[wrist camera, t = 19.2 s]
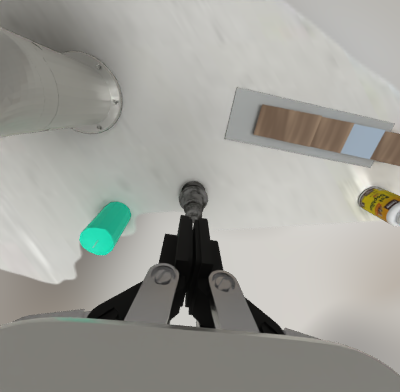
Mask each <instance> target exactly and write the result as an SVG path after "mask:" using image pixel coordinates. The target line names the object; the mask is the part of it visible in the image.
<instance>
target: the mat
mask: <svg viewBox="0 0 400 392" xmlns="http://www.w3.org/2000/svg"><path fill="white" fill-rule="evenodd" d="M262 104H264V105H269V106H274V107H279V108H284V109H290V110H295V111H300V112H305V113H310V114H316V115H321V116H322V117H326V118H331V119H336V120H341V121H346V122H351V123H355V124H357V125H362V126H367V127H372V128H377V129H382V130H386V131H387V132H391V130H392V128H393V126H394V123H390V122H386V121H381V120H377V119H373V118H369V117H364V116H360V115H356V114H351V113H347V112H343V111H338V110H334V109H330V108H325V107H321V106H317V105H312V104H308V103H304V102H299V101H295V100H291V99H286V98H282V97H278V96H273V95H269V94H265V93H260V92H256V91H252V90H247V89H243V88H239V87H237V89H236V93H235V97H234V101H233V106H232V110H231V114H230V118H229V123H228V127H227V131H226V135H225V139H228V140H233V141H238V142H243V143H248V144H253V145H258V146H263V147H268V148H273V149H278V150H283V151H288V152H293V153H298V154H303V155H308V156H313V157H318V158H323V159H328V160H333V161H338V162H343V163H348V164H353V165H358V166H364V167H369V168H371V166H372V164H373V162H374V161H375V160H372V159H366V158H361V157H357V156H352V155H348V154H343V153H336V152H332V151H327V150H323V149H319V148H314V147H307V146H303V145H298V144H294V143H289V142H284V141H280V140H275V139H271V138H266V137H262V136H257V135H253V134H254V131H255V127H256V124H257V120H258V117H259V113H260V110H261V107H262Z"/></svg>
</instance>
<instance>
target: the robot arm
mask: <svg viewBox="0 0 400 392" xmlns="http://www.w3.org/2000/svg"><path fill="white" fill-rule="evenodd" d="M101 66H102V69H100V67H101ZM116 101H118V104H117V103H116ZM121 109H122V96H121V91H120V87H119V85H118V83H117V80H116V78H115V77H114V75H113V74H112V72H111V71H110V70H109V69H108V68H107V67H106V65H104V64H103V63H102V62H101V61H99V60H98V59H96V58H95V57H93V56H91V55H88V54H86V53H83V52H79V51H68V52H64V53H58V52H56V51H54V50H52V49H49V48H47V47H45V46H42V45H40V44H38V43H36V42H33V41H31V40H29V39H26V38H24V37H22V36H20V35H17V34H15V33H13V32H11V31H8V30H6V29H4V28H1V27H0V138H2V137H6V136H12V135H19V134H26V133H34V132H41V131H49V130H56V129H63V128H72V129H74V130H76V131H79V132H82V133H88V134H94V133H100V132H103V131H106V130H108V129H109V128H111V127H112V126H113V125H114V124H115V123H116V121H117V120H118V118H119V116H120V112H121ZM100 126H102V128H101V127H100ZM185 293H186V300H185V307H189V315H193V317H194V318H195V319H196V320H197V321H196V327H192V326H180V325H169V324H170V320H171V319H172V318H173V317H175V316H176V315H177V314H178V313H179V309H180V307H182V306H183V302H184V297H185ZM0 392H400V375H399V374H397V373H396V372H395V371H394V370H393V369H391V368H390V367H389V366H387V365H386V364H384V363H383V362H381V361H380V360H378V359H376V358H374V357H372V356H371V355H368V354H366V353H364V352H362V351H360V350H358V349H355V348H351V347H349V346H346V345H343V344H339V343H335V342H331V341H325V340H321V339H318V338H315V337H312V336H309V335H305V334H303V333H300V332H297V331H294V330H290V329H287V328H285V329H284V330H282V329H281V328H280V326H279V325H278V324H277V323H276V322H274V321H273V320H272V319H271V318H270V317H268V316H267V315H266V314H265V313H263V312H262V311H261V310H260V309H259V308H257V307H256V306H255V305H254V304H252V303H251V302H250V301H249V300H247V299H246V298H245V297H244V295H243V293H242V291H241V288H240V286H239V284H238V281H237V280H236V278H235V277H234V276H233V275H232V274H230V273H229V272H226V271H223V267H222V261H221V256H220V251H219V246H218V242H217V241H213V240H210V235H209V228H208V220H207V219H204V218H198V220H195V221H194V226H193V230H192V219H189V216H184V215H181V217H180V223H179V228H178V234H177V235H170V234H165V237H164V242H163V246H162V251H161V255H160V260H159V264H156V265H154V266H152V267H151V268H150V269H149V271H148V272H147V274H146V277H145V279H144V281H142V282H140V283H138V284H136V285H135V286H133V287H131V288H129V289H127V290H126V291H124V292H122V293H120V294H118V295H117V296H115V297H113V298H111V299H109V300H108V301H106V302H104V303H102V304H100V305H98V306H97V307H96V308H94V309H93V310H92V311H88V312H84V309H80V310H71V311H63V312H54V313H45V314H37V315H29V316H25V317H22V318H20V319H17V320H15V321H13V322H12V323H8V324H4V325H0Z"/></svg>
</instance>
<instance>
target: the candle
mask: <svg viewBox="0 0 400 392" xmlns="http://www.w3.org/2000/svg"><path fill="white" fill-rule="evenodd" d="M130 217H131V213H130V209H129V208H128V207H127V206H126V205H125V204H123V203H120V202H110V203H109V204H108V205H107V206H105V207H104V209H103V210H102V211H101V212H100V213H99V214H98V215H97V216H96V217H95V218H94V219H93V221H92V222H91V223H90V224H89V225H88V226H87V227H86V228H85V229H84V230H83V232H82V233H81V234H80V239H79V240H80V243H81V245H82V247H83V248H85V249H86V250H88V251H89V252H91V253H94V254H96V255H106V254H108V253H109V252H111V251H112V250H113V248H114V246H115V244H116V242H117V241H118V239H119V237H120V236H121V234H122V232H123V231H124V229H125V227H126V225H127V224H128V222H129V220H130Z"/></svg>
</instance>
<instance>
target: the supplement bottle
mask: <svg viewBox="0 0 400 392" xmlns="http://www.w3.org/2000/svg"><path fill="white" fill-rule="evenodd" d="M359 205H360V206H361V207H362V208H363V209H365V210H367V211H368V212H370V213H372V214H373V215H375V216H377V217H379V218H380V219H382V220H384V221H385V222H387V223H389V224H391V225H393V226H400V196H398V195H396V194H394V193H391V192H389V191H386V190H384V189H382V188H379V187H372V188H369V189H367V190H365V191H364V192H363V193H362V194H361V195H360V197H359Z"/></svg>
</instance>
